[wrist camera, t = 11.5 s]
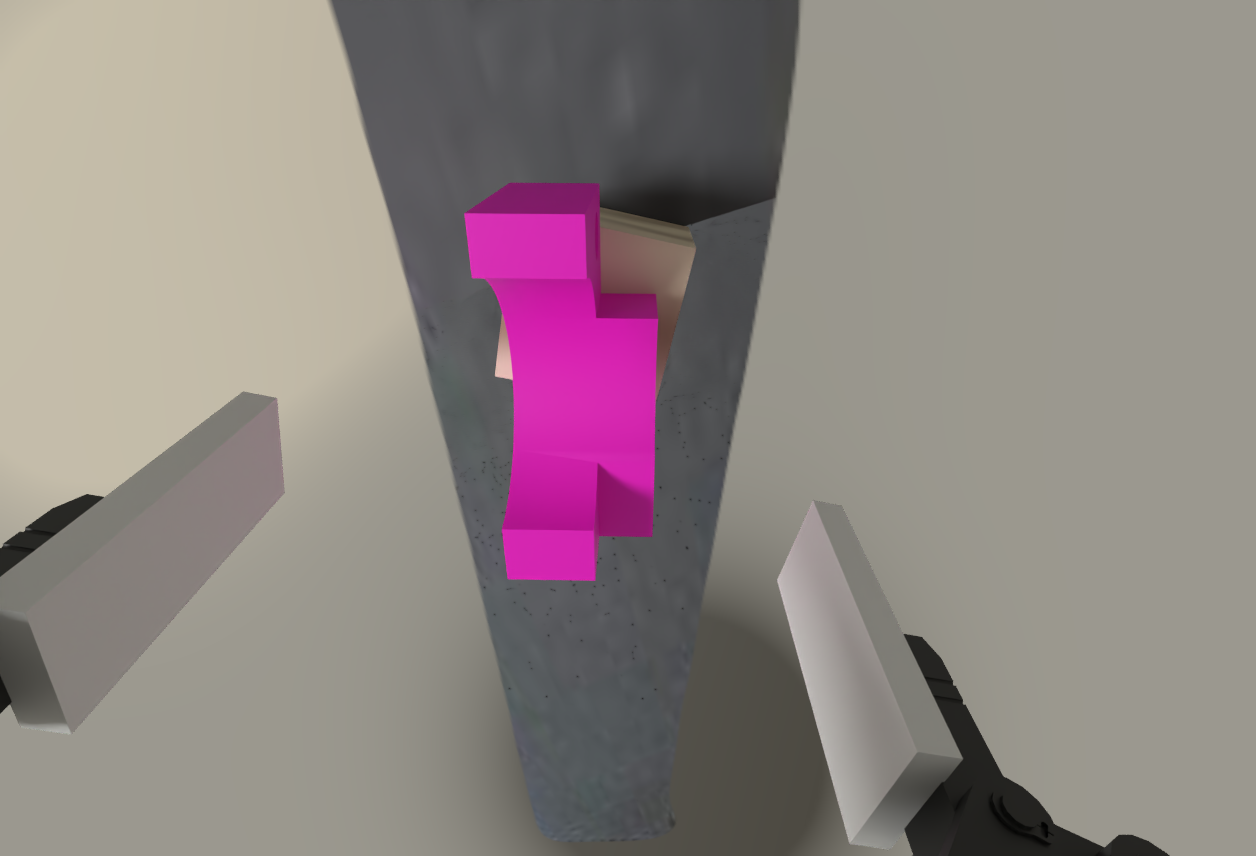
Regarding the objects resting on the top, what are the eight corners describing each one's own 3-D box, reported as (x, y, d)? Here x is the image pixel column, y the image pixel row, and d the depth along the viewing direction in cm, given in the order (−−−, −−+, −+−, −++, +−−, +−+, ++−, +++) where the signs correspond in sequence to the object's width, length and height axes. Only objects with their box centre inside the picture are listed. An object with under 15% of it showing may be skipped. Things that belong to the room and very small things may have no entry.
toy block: (650, 483, 33) (653, 581, 26) (534, 481, 33) (507, 579, 26) (658, 184, 25) (665, 214, 19) (509, 182, 25) (464, 213, 19)
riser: (532, 191, 30) (514, 208, 26) (688, 227, 31) (696, 248, 27) (513, 340, 34) (494, 376, 30) (652, 368, 35) (654, 408, 30)
